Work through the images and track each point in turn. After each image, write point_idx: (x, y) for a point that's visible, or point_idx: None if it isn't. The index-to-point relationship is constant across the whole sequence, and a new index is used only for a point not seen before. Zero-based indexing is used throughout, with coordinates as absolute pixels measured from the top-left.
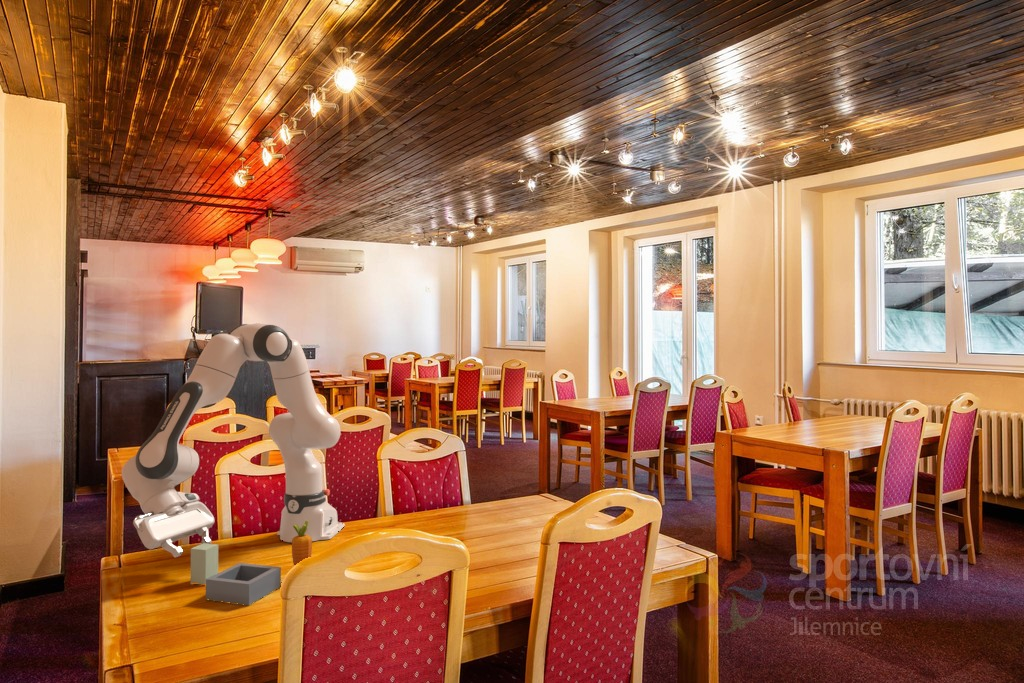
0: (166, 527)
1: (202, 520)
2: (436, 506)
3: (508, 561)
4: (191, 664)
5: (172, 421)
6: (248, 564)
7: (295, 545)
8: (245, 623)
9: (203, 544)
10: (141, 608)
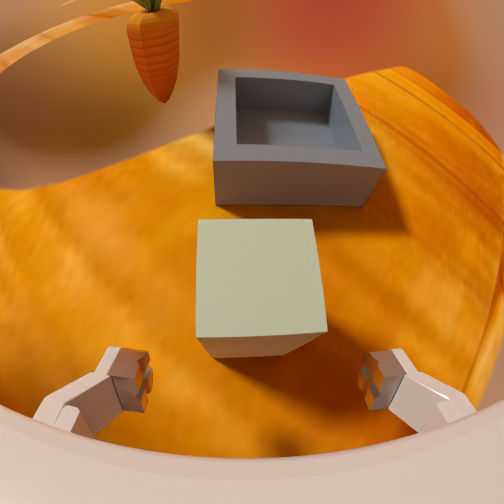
0: (500, 487)
1: (8, 457)
2: None
3: (92, 16)
4: (465, 116)
5: None
6: (221, 130)
7: (178, 24)
8: (380, 99)
9: (222, 316)
10: (460, 322)
